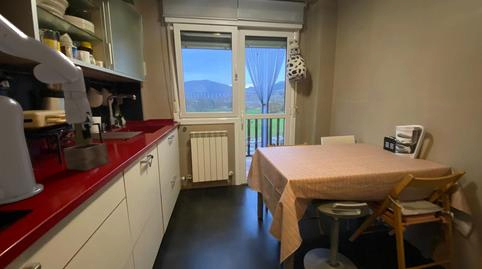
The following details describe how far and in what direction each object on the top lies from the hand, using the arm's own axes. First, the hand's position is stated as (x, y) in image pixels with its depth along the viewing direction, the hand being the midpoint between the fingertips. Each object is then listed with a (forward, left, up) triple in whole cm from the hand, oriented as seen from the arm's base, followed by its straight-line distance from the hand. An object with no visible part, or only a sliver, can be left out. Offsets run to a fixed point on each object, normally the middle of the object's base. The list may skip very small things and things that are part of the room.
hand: (83, 138), depth 94 cm
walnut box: (0, 0, -13) cm, 13 cm away
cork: (0, 0, -2) cm, 2 cm away
